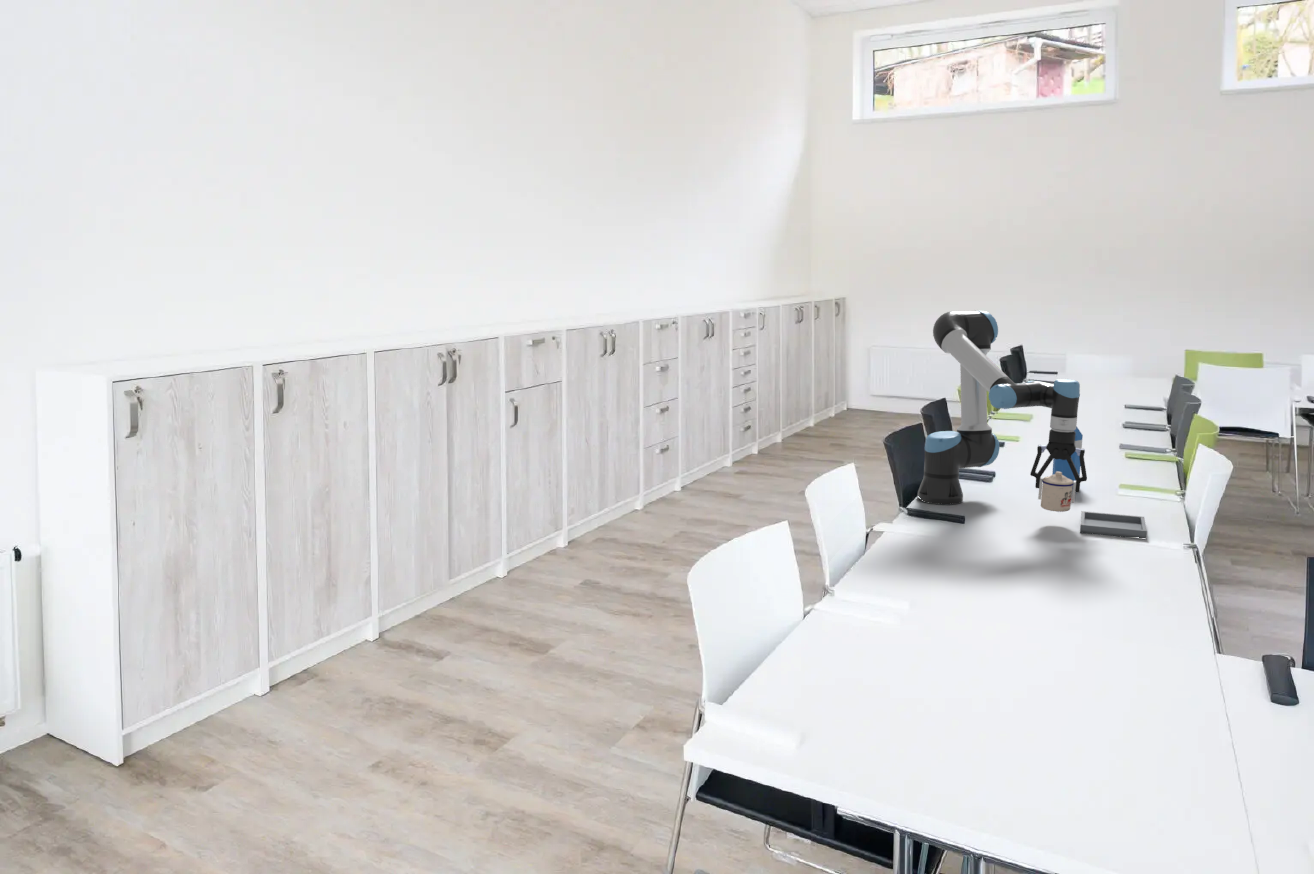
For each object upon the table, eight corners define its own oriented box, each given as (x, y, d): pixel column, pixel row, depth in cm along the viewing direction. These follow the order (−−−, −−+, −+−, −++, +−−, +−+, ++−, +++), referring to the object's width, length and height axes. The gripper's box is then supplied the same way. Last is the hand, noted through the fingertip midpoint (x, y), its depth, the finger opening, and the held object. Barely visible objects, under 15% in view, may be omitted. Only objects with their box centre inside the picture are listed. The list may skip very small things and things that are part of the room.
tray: (1079, 533, 297) (1080, 524, 296) (1080, 518, 313) (1081, 511, 312) (1146, 539, 289) (1146, 531, 289) (1143, 524, 306) (1144, 516, 305)
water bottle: (1081, 485, 360) (1086, 418, 355) (1076, 490, 352) (1081, 421, 348) (1054, 482, 365) (1058, 416, 360) (1049, 487, 357) (1053, 419, 352)
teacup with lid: (1065, 514, 300) (1069, 477, 297) (1035, 508, 305) (1038, 472, 303) (1077, 506, 309) (1081, 470, 306) (1048, 500, 314) (1052, 465, 312)
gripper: (1024, 428, 303) (1018, 499, 308) (1101, 435, 295) (1093, 507, 299) (1026, 424, 310) (1020, 493, 314) (1101, 430, 301) (1094, 501, 306)
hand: (1056, 500), depth 307 cm, fingers closed on teacup with lid, 9 cm apart
